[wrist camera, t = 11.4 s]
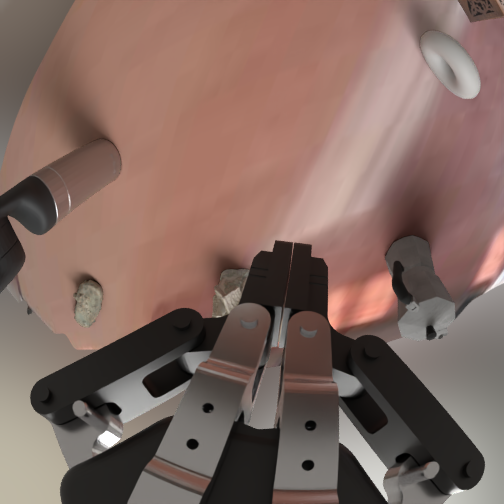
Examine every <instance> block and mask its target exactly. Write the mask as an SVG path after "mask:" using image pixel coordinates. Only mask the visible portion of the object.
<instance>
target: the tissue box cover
mask: <svg viewBox="0 0 504 504" xmlns="http://www.w3.org/2000/svg"><path fill="white" fill-rule="evenodd" d="M458 1H459V3H460V5H461V6H462V8H463V10H464V11H465V13H466V15H467V16H468V18H469V20H470V22H476V21H482V20H488V19H495V18H503V17H504V0H458Z"/></svg>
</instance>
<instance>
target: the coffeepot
mask: <svg viewBox="0 0 504 504" xmlns="http://www.w3.org/2000/svg"><path fill="white" fill-rule="evenodd" d="M385 260H386V263H387V266H388V269H389V272H390V274H391V276H392V287H393V290H394V292H395V294H396V295H397V297H398V325H399V329H400V333H401V337H405V338H409V339H413V340H417V341H421V340H424V339H427V340H432V339H441V338H442V337H443V336H445V335H447V334H448V333H447V327H448V326H449V325H450V324H451V323H452V322H453V321H454V320H455V303H454V301H453V299H452V298H451V296H450V294H449V293H448V291H447V290H446V288H445V286H444V285H443V283H442V282H441V280H440V278H439V277H438V276H437V275H435V272H434V267H433V262H432V257H431V252H430V248H429V243H428V242H427V241H425V240H423V239H422V238H420V237H417V236H414V235H411V236H407V237H403V238H401V239H399V240H397V241H395V242H394V243H393V244H392V246H391V247H390V248H389V250H388V252H387V255H386V256H385Z"/></svg>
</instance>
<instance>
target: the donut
mask: <svg viewBox="0 0 504 504" xmlns="http://www.w3.org/2000/svg"><path fill="white" fill-rule="evenodd" d="M420 48H421V51H422V54H423V56H424V58H425V60H426V62H427V64H428V65H429V67H430V69H431V70H432V71H433V73H434V74H435V75H436V77H437V78H438V79H439V80H440V81H441V83H442V84H443V85H444V86H445V87H446V88H447V89H448V90H450V91H451V92H452V93H454V94H455V95H456V96H459V97H461V98H463V99H472V98H475V96H476V95H477V94H478V93H479V91H480V77H479V73H478V70H477V68H476V66H475V64H474V62H473V60H472V59H471V57H470V56H469V54H468V53H467V52H466V50H465V49H464V48H463V47H462V46H461V45H460V44H459V43H458V42H457V41H456V40H454V39H453V38H452V37H450V36H449V35H447V34H445V33H443V32H440V31H436V30H429V31H426V32H425V33H424V34H423V35H422V36H421V39H420Z"/></svg>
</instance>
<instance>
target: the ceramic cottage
mask: <svg viewBox="0 0 504 504" xmlns="http://www.w3.org/2000/svg"><path fill="white" fill-rule="evenodd" d="M249 271H250V270H248V269H238V270H235V269H234V270H233V269H230V270H229V269H228V270H225V271H223V272H222V273H221V276H220V282H219V284H218V285H216V286H215V287H214V289H215V292H216V295H214V297H213V314H212V318H215V317H222V316H225V315H227V314H229V313H230V311H231V310H232V309H233V308H234V307H236V306H238V304H239V302H240V299H241V296H242V292H243V289H244V286H245V283H246V280H247V277H248V274H249ZM285 300H286V299H285ZM284 306H285V305H284ZM283 313H284V311H283ZM282 321H283V316H282ZM281 328H282V322H281ZM281 328H280V333H279V339H278V342H279V341H280V335H281ZM271 347H272V346H271Z"/></svg>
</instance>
